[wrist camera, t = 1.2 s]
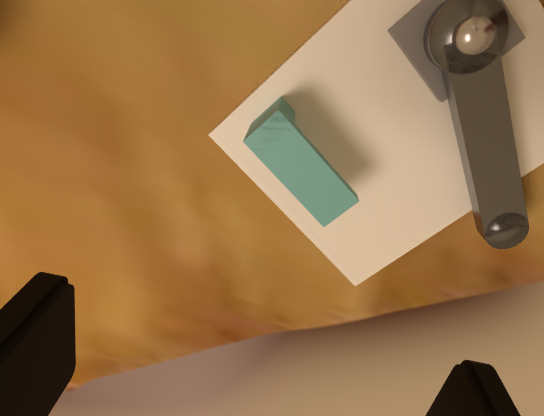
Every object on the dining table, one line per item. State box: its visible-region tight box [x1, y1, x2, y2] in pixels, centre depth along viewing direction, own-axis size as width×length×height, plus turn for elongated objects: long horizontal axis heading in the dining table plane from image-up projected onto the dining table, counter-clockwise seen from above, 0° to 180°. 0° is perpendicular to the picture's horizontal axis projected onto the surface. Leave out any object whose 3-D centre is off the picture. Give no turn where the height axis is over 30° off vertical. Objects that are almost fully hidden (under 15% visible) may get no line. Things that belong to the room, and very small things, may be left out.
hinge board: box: [209, 0, 544, 286], centre depth 27 cm, size 22×18×6 cm
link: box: [423, 0, 529, 249], centre depth 26 cm, size 18×4×3 cm, turn 22°
